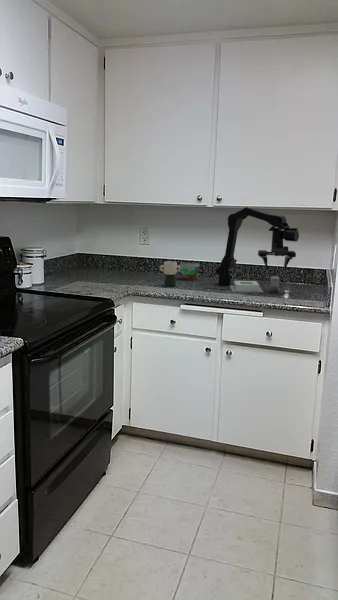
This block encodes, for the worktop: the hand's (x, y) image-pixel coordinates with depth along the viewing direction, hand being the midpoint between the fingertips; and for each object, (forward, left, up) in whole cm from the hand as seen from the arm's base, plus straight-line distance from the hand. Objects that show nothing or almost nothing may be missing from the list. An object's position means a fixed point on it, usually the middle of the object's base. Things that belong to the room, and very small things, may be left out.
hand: (275, 270), depth 256 cm
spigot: (0, 0, -12) cm, 12 cm away
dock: (-14, +5, -12) cm, 19 cm away
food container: (-45, +30, -12) cm, 55 cm away
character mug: (-55, +10, -12) cm, 57 cm away
